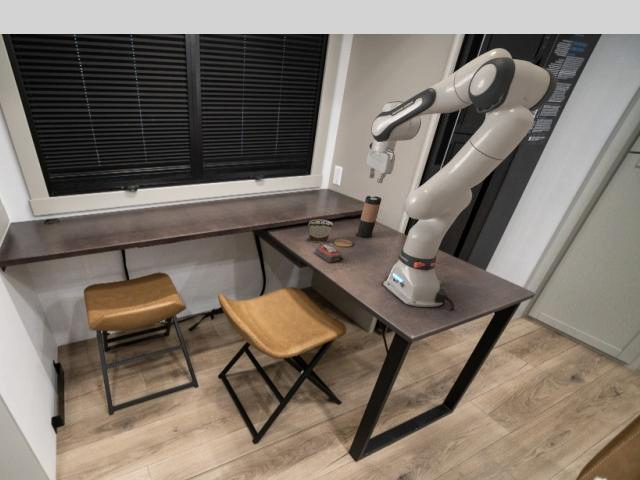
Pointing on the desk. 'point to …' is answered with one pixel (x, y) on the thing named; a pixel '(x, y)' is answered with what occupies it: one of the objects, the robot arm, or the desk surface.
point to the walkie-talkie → (328, 253)
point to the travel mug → (369, 216)
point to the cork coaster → (343, 243)
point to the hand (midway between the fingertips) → (375, 180)
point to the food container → (319, 230)
